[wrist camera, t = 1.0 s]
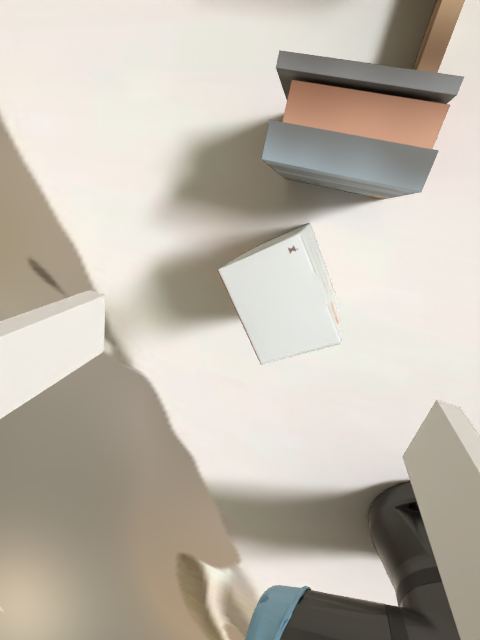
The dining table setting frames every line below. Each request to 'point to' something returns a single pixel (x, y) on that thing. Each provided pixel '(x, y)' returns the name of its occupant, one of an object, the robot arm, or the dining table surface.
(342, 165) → the book rack
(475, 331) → the dining table surface
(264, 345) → the small box
